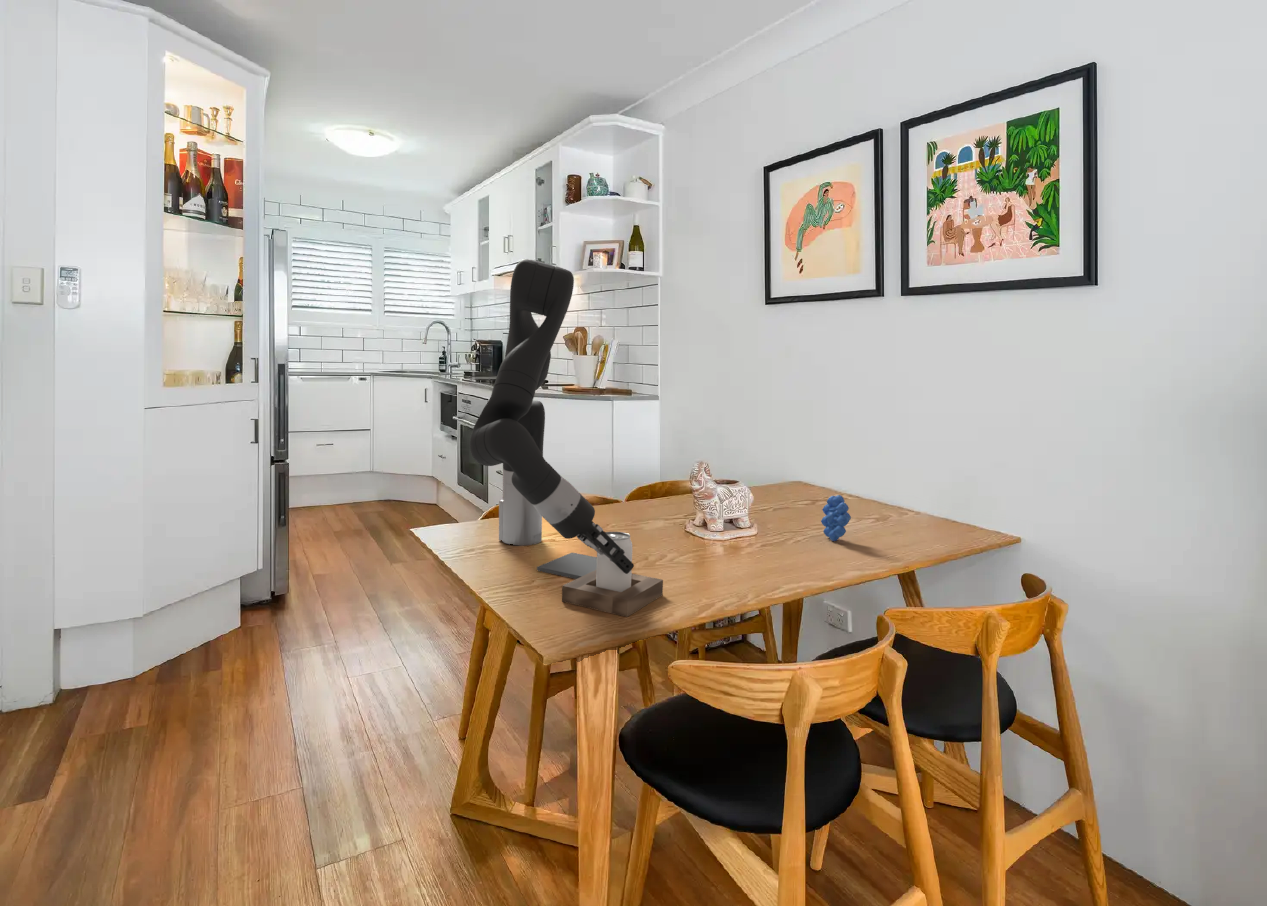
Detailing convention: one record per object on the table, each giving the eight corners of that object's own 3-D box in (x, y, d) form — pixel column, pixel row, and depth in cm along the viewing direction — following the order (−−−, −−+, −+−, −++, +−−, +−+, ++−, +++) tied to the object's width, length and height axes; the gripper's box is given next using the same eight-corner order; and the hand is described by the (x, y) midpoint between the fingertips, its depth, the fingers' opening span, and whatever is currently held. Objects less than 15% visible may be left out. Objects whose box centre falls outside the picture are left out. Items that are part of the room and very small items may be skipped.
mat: (536, 570, 149) (536, 566, 149) (571, 555, 160) (572, 552, 160) (590, 582, 143) (590, 578, 143) (622, 566, 154) (623, 562, 154)
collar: (561, 601, 131) (562, 585, 131) (601, 581, 143) (601, 567, 143) (627, 616, 125) (627, 600, 125) (662, 594, 137) (663, 579, 136)
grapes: (860, 547, 176) (864, 498, 175) (834, 547, 175) (838, 498, 173) (839, 534, 188) (842, 489, 186) (814, 535, 186) (817, 489, 185)
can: (609, 590, 139) (611, 529, 137) (637, 597, 135) (639, 535, 133) (588, 599, 133) (590, 535, 132) (617, 607, 130) (619, 541, 128)
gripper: (592, 498, 121) (651, 558, 128) (563, 483, 134) (617, 538, 141) (562, 532, 120) (623, 590, 127) (535, 513, 133) (591, 567, 139)
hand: (619, 563), depth 134 cm, fingers open, 8 cm apart
